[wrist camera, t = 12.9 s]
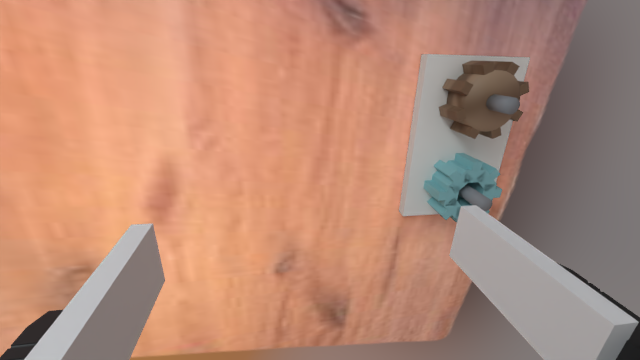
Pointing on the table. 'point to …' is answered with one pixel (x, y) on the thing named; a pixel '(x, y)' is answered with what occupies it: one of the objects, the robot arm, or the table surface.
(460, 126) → the walnut gear
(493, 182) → the teal gear
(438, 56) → the gear board
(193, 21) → the table surface
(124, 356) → the robot arm
